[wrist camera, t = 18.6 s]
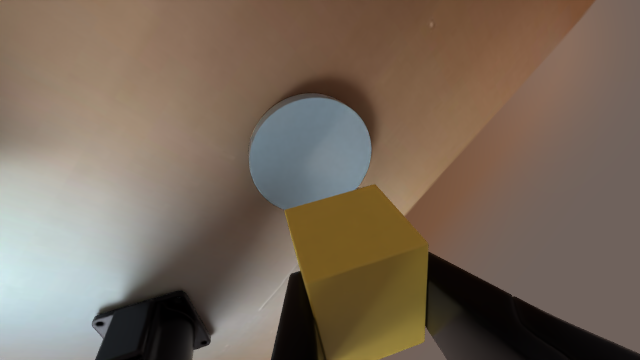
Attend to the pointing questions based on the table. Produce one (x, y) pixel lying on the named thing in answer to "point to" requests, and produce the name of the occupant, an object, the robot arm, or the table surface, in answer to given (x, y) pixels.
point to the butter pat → (361, 273)
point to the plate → (308, 150)
